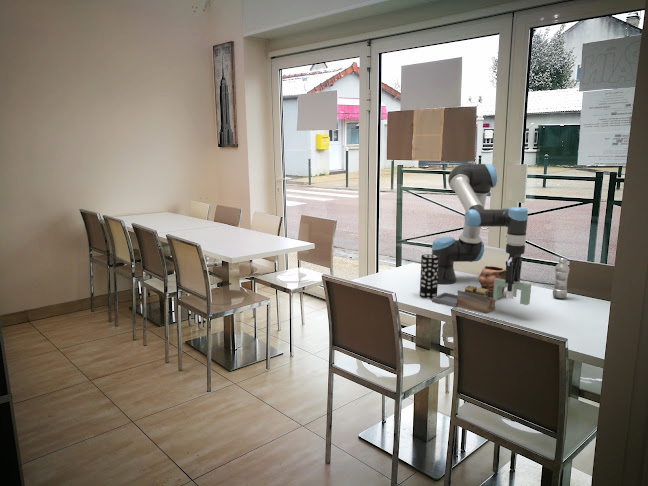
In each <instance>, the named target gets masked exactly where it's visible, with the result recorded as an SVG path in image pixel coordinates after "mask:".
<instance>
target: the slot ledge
mask: <svg viewBox="0 0 648 486" xmlns="http://www.w3.org/2000/svg"><path fill="white" fill-rule="evenodd" d="M456 295H457V307H456V308H460V309H465V310H469V311H474V312H477V313H482V314H488V313H489V312H491V311H493V310H495V308H496V302H497V300H494V299H493V292H491V291H488V297H487V296H482V295H478V294H473V293H468V292H465V291H463V290H457V294H456Z"/></svg>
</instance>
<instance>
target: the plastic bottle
mask: <svg viewBox="0 0 648 486" xmlns="http://www.w3.org/2000/svg"><path fill="white" fill-rule="evenodd" d="M554 270H555V271H554V273H555V276H554V287H553V289H552V296H553V298H555V299H562V300H563V299H566V297H567V295H568V289H567V287H568V285H567V284H568V278H569V274H570V266H569V265H568V257H565V256H560V257H559V258H558V263H557V264H556V265H555V267H554Z"/></svg>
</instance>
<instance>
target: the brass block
mask: <svg viewBox="0 0 648 486" xmlns="http://www.w3.org/2000/svg"><path fill="white" fill-rule="evenodd" d="M477 289H478V287H476V286H471V285H467V286H465V287H464V292H468V293H473V294H476V290H477Z"/></svg>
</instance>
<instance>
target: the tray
mask: <svg viewBox="0 0 648 486" xmlns="http://www.w3.org/2000/svg"><path fill="white" fill-rule="evenodd" d="M457 295H458V294H455V293H454V294H453V293H448V292H446V291H445V292H443V293H440V294H437V296H435V297H433V298H432V299H431V301H432V303H435V304H440V305H443V306H449V307H452V308H458V307H457Z"/></svg>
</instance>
